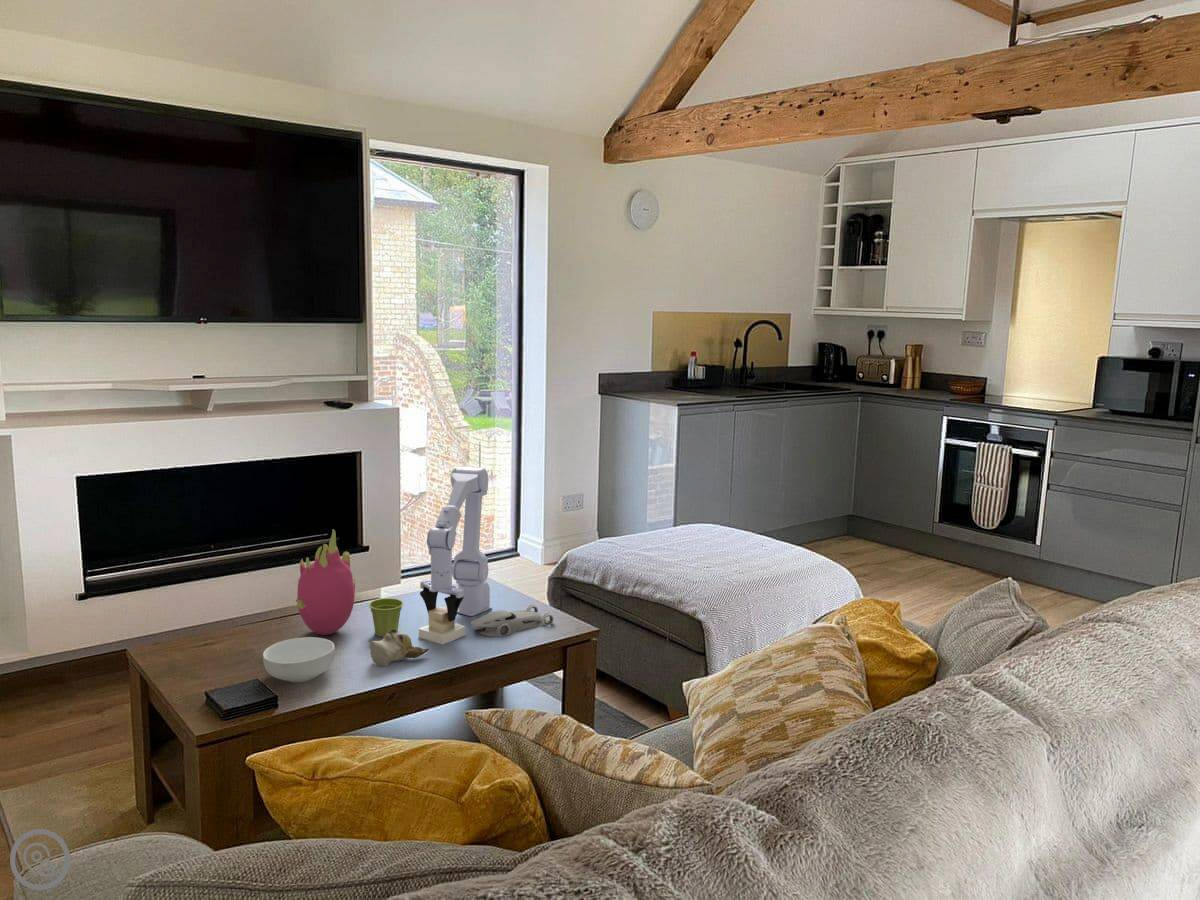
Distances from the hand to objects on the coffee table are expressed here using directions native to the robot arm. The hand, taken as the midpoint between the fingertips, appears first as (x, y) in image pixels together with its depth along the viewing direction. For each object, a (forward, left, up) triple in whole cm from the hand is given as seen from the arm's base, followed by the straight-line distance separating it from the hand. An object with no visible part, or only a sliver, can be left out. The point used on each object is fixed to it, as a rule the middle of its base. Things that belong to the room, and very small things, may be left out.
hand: (441, 617), depth 249 cm
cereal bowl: (+40, -9, -6) cm, 42 cm away
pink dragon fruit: (+18, -27, -6) cm, 33 cm away
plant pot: (+8, -14, -6) cm, 17 cm away
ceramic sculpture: (+20, +2, -6) cm, 21 cm away
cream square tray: (0, 0, -5) cm, 5 cm away
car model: (-18, +10, -6) cm, 21 cm away
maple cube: (0, 0, -3) cm, 3 cm away
